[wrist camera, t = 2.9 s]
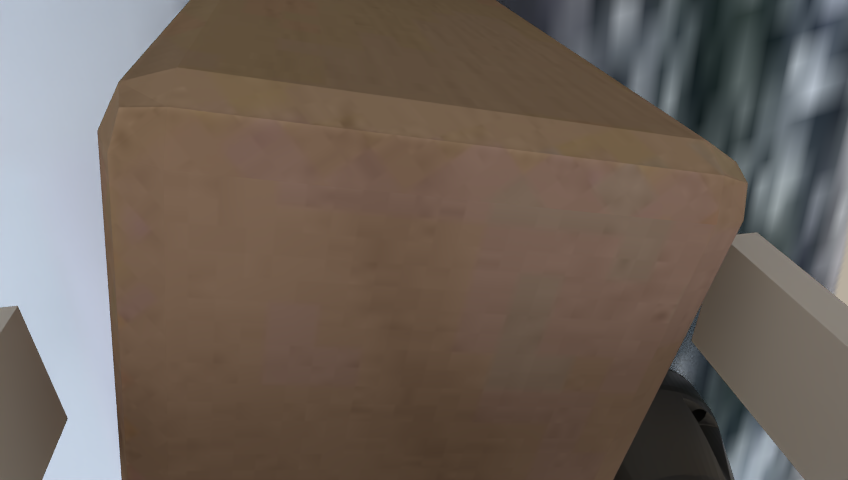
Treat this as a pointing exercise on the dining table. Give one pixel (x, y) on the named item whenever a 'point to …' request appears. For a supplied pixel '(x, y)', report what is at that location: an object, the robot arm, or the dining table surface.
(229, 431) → the wooden block
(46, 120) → the dining table surface
